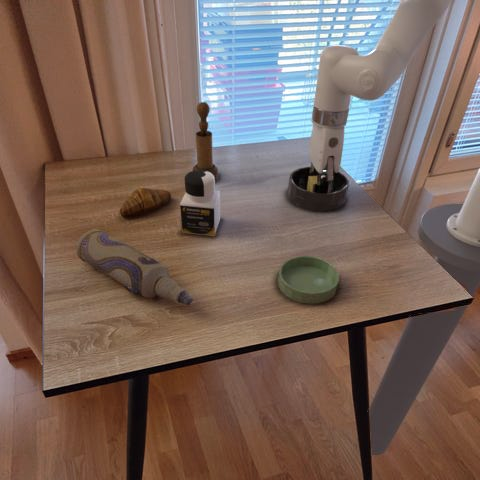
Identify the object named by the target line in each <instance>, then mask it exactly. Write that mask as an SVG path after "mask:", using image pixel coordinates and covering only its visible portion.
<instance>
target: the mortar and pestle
mask: <svg viewBox="0 0 480 480" xmlns="http://www.w3.org/2000/svg"><path fill="white" fill-rule="evenodd" d="M210 111H211V109H210V105H209V103H207V102H206V101H201V102H198V104H197V106H196V112H197V114H198V116H199V122H198V128H199V131H197V132H195V144H196V145H195V146H196V164H195V165H194V166H193V167H192V171H195V170H204V171H208V172H210V173H212V174H213V175H214V177H215V182H216V181H218V179H219V167H217V166H216V165H215V164H214V159H213V157H214V156H213V132H212V131H210V130H208V128H209V122H208V121H207V118H208V116H209V114H210Z"/></svg>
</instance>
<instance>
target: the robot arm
mask: <svg viewBox="0 0 480 480" xmlns="http://www.w3.org/2000/svg"><path fill="white" fill-rule="evenodd" d="M452 2H453V0H399V2H398V5H397V8H396V10H395V12H394V14H393V16H392V18H391V20H390V22H389V24H388V25H387V26H386V29H385V30H384V32H383V33H382V36H381V37H380V39H379V40H378V42H377V44H376V45H375V47H374V48H373V50H372V51H371V52H369V53H367V54H363V55H360V53H359V51H358V50H357V49H356V48H354V47H352V46H348V45H339V44H335V45H328V46H326V47H325V48H324V49H323V50H322V51H321V53H320V57H319V63H318V71H317V78H316V86H315V90H314V91H315V93H314V100H313V105H312V106H313V107H312V113H311V124H312V129H311V133H310V140H309V145H308V158H309V161H310V166H309V167H310V173H312V174H310V175H309V176H317V183H315V188H314V192H315V193H327V192H328V187H329V184H330V181H333V171H334V172H335V173H338V172H340V170H341V164H342V158H343V151H344V144H345V143H344V142H345V127H346V126H347V122H348V119H349V113H350V108H351V103H352V97H355V98H357V99H360V100H363V101H375V100H378V99H380V98H382V97H383V96H384V95H385V94H386V93H387V92H388V91H389V90H390V89H391V88H392V86H394V84H395V83H396V82H397V81H399V79H400V77H401V76H402V74H403V73H404V72H405V70H406V69H407V67H408V66H409V64H410V63H411V61H412V59H413V58H414V57H415V55H416V54H417V52H418V50H420V48H421V46H422V45H423V43H424V42H425V40H426V38H428V36H429V35H430V32H431V31H432V29H433V28H434V27H435V25H436V24H437V23H438V22H439V21H440V19H441V18H442V17H443V15H445V12H446V11H447V9H448V8H449V6H450V5H451V3H452ZM323 169H326V170H323ZM323 174H326V176H325V177H322V178H321V176H323ZM462 204H463V206H462V209H461V211H460V213H457V214H454V215H452V216H451V217H450V218H449V219H448V221H447V229H448V231H449V232H450V233H451V234H452V235H453V236H454V237H455V238H457V239H458V240H460V241H462V242H464V243H466V244H469V245H472V246H476V247H480V168H478V171H477V173H476V175H475V178H474V179H473V182H472V184H471V186H470V189H469V190H468V194H467V195H466V198H465V200H464V202H463V203H462Z"/></svg>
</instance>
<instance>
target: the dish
mask: <svg viewBox="0 0 480 480" xmlns="http://www.w3.org/2000/svg"><path fill="white" fill-rule="evenodd" d="M278 271H279V272H278V278H277V284H278V288H279V290H280V292H282V294H283V295H284V296H286V297H287V298H288V299H290V300H293V301H294V302H297V303H300V304H301V303H302V304H307V305H315V304H322V303H325V302H327V301H329V300H331V299H332V298H333V297H334V296H335V294H336V293H337V290H338V286H339V282H340V273H339V271H338V270H337V267H335V266H334V265H333V264H332V263H330V262H329V261H327V260H325V259H323V258H321V257H317V256H311V255H299V256H298V255H297V256H294V257H290V258H288V259H287V260H285V261H284V262H282V264H281V265H280V267H279V269H278Z"/></svg>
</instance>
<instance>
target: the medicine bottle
mask: <svg viewBox="0 0 480 480" xmlns="http://www.w3.org/2000/svg"><path fill="white" fill-rule="evenodd" d="M184 191H185V193H184V195H183V196H182V199H181V201H180V204H179V206H180V207H179V209H180V220H181V231H182V234H189V235H198V236H207V237H215V236H216V233H217V230H218V228H219V224H220V221H221V191H220V190H218V189H217V190H216V181H215V177H214V175H213V174H212V173H210V172H208V171H204V170H195V171H193V170H191V171H189V172H188V173H186V174H185V176H184Z"/></svg>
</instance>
